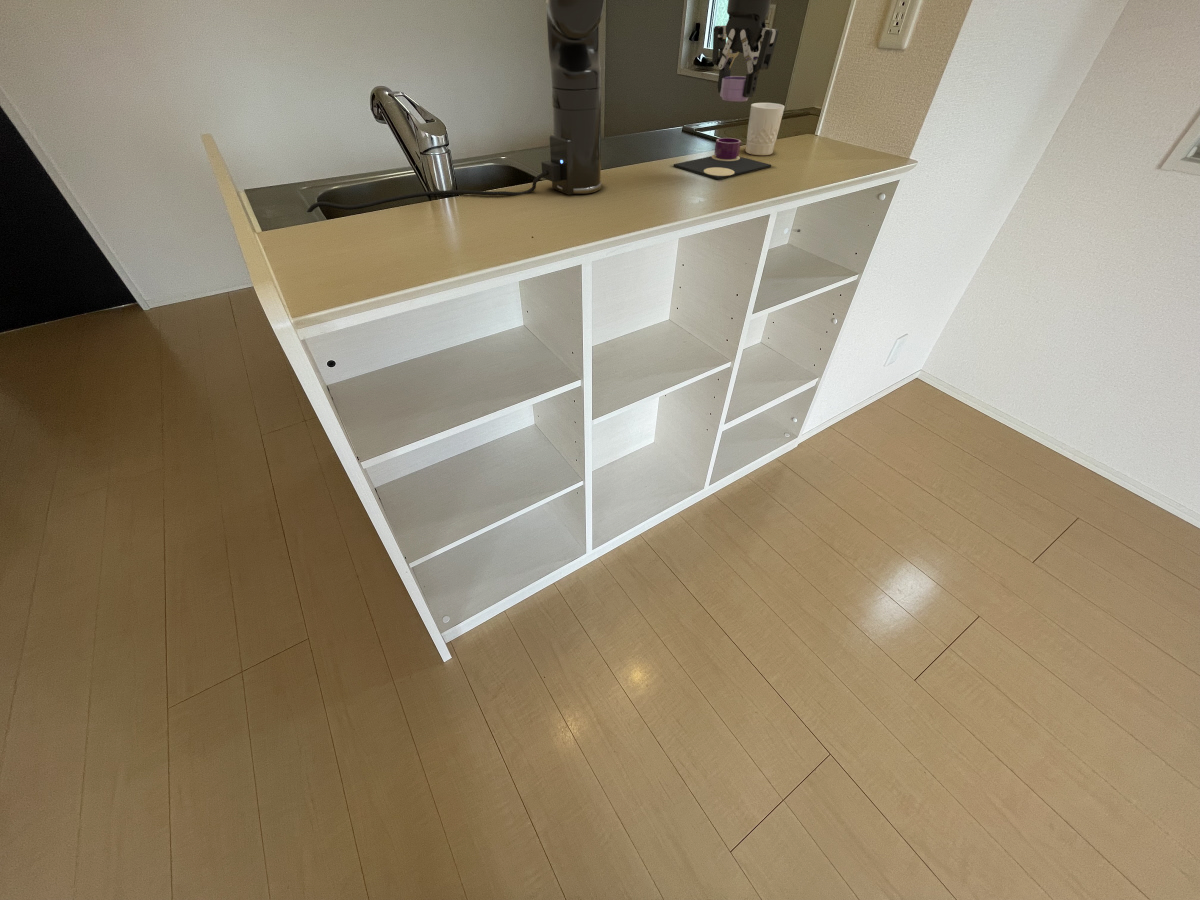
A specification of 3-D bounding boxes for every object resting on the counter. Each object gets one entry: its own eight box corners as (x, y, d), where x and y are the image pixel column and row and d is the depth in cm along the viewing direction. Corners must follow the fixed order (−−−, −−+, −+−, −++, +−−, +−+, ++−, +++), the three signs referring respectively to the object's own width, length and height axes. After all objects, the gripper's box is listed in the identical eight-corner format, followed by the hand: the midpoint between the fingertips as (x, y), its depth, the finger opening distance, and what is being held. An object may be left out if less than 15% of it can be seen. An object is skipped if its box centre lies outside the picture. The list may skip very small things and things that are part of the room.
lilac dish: (735, 102, 98) (739, 80, 96) (713, 98, 102) (716, 77, 99) (755, 100, 101) (759, 78, 98) (733, 96, 104) (736, 75, 102)
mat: (719, 180, 109) (719, 177, 109) (672, 166, 118) (672, 163, 118) (772, 167, 118) (772, 164, 117) (724, 155, 126) (725, 152, 126)
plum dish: (727, 161, 119) (729, 144, 117) (708, 156, 123) (711, 139, 120) (743, 157, 122) (746, 141, 119) (725, 152, 125) (727, 136, 123)
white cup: (778, 156, 125) (788, 108, 118) (746, 156, 125) (754, 108, 119) (770, 149, 131) (780, 102, 124) (740, 148, 131) (748, 102, 124)
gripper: (708, -20, 92) (696, 92, 103) (771, -21, 83) (750, 101, 95) (736, -20, 95) (721, 89, 107) (799, -21, 87) (776, 97, 98)
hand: (735, 94), depth 101 cm, fingers closed on lilac dish, 6 cm apart
